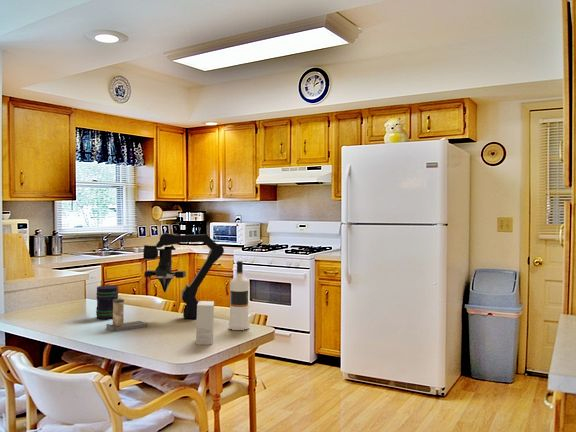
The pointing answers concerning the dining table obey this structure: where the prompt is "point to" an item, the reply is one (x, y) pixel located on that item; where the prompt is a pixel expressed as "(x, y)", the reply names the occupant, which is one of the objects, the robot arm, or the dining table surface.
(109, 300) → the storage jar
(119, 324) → the lever
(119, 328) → the fader track
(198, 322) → the skincare box
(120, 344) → the dining table surface
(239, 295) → the vodka
